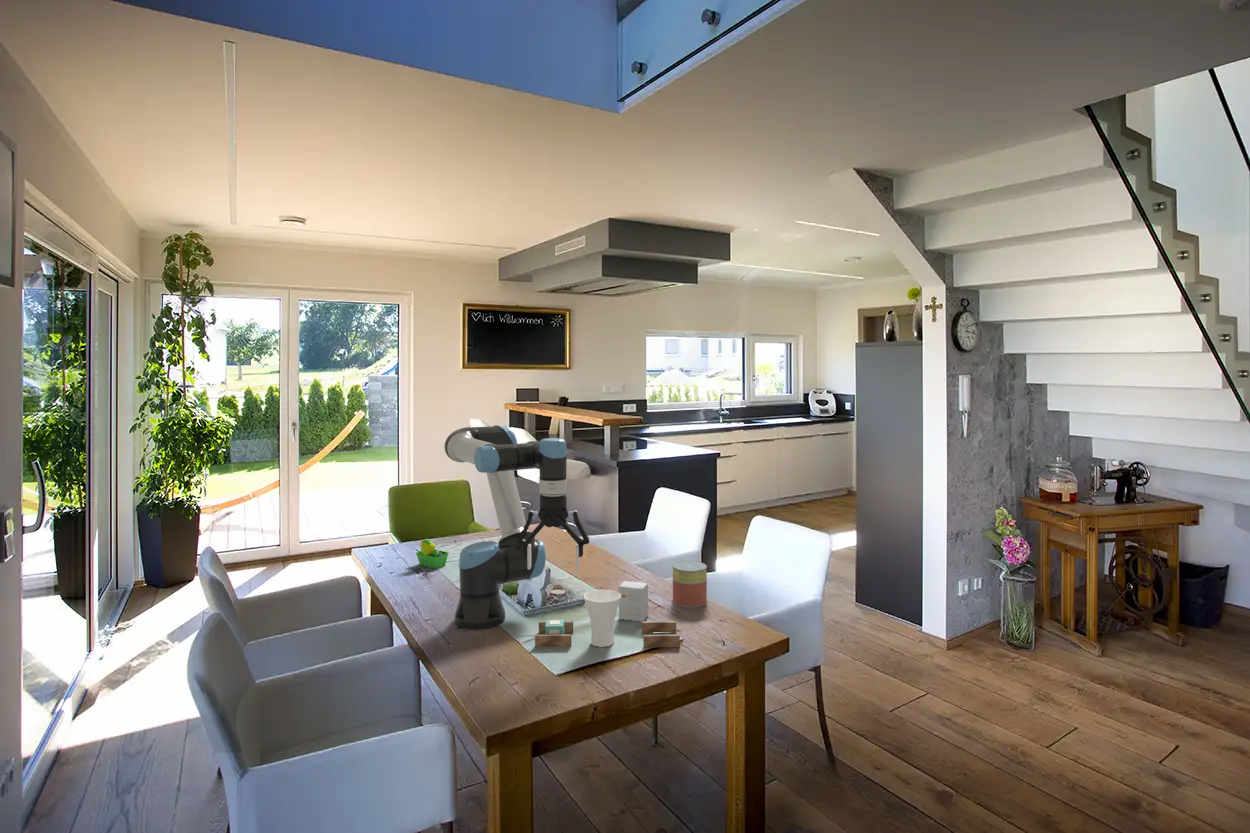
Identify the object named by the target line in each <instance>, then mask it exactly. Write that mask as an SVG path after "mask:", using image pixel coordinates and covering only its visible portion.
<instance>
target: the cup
mask: <svg viewBox="0 0 1250 833" xmlns="http://www.w3.org/2000/svg"><path fill="white" fill-rule="evenodd" d="M620 598H621V595H620V594H619V591H615V590H611V589H596V590H590V591H587V592H586V593H584V595H583V600H584V603H585V605H586V609H587V612H588V615H589V621H590V628H591V636H590V637H591V639H590V644H591V645H592V646H594V647H597V646H598V648H605V647H606V646H607V647H611V646H612V645H614V644H615V639H614V638H615V637H614V624H615V620H616V614H617V611H618V609H619V601H620Z"/></svg>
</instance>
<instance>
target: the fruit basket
mask: <svg viewBox="0 0 1250 833" xmlns="http://www.w3.org/2000/svg"><path fill="white" fill-rule="evenodd" d="M415 554H416V557H417V560H418V563H419V565H420V566H421V567H422V566H424V567H425V568H432V569H434V570H435V569H438V568H442V567H445V566H446V563H447V560H448V556H449V554H450V553H449V552H448V551H443V550H439V549H436V544H435V543H434V542H432V541H431V540H430V539H428V538H425V539H422V541H421V542H420V550H419V551H417V552H415Z"/></svg>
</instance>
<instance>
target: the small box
mask: <svg viewBox="0 0 1250 833" xmlns="http://www.w3.org/2000/svg"><path fill="white" fill-rule="evenodd" d="M617 588H618V593H619V594H620V595H621V598H620V601H619V604H618V619H619V620H622V619H624V621H630V620H632V621H633V622H639V621H640V623H642V622H645V621H646V619H647V618H648V616H649V584H648V582H637V581H628V580H624V581H623V582H621V583H620V585H618V587H617Z"/></svg>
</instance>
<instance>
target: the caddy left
mask: <svg viewBox="0 0 1250 833" xmlns="http://www.w3.org/2000/svg"><path fill="white" fill-rule="evenodd" d="M546 621H547V620H546ZM546 621H538V634H534V647H535V648H570V647H572V634H573V633H574V621H573V620H571V621H569V620H564V634H563V635H545V625H546Z"/></svg>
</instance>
